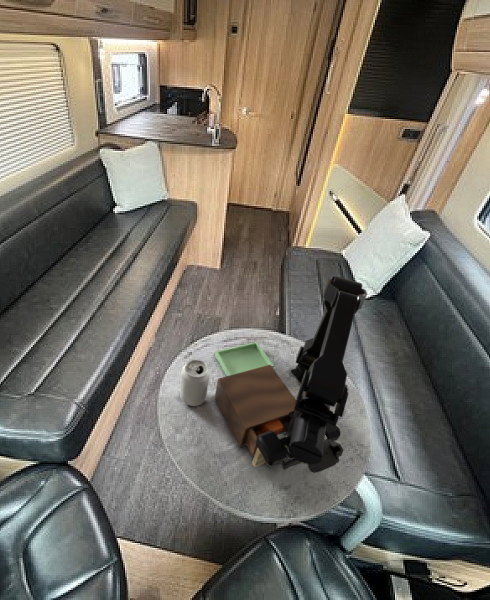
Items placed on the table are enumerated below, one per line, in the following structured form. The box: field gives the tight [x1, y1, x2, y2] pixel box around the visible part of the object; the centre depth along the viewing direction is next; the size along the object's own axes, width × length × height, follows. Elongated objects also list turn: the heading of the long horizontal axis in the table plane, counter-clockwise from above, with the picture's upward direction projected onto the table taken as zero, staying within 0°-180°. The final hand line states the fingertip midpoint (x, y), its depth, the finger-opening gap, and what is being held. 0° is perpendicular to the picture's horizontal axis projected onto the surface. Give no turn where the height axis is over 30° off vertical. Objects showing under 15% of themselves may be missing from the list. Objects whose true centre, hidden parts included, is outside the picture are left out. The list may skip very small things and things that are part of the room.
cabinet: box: [214, 365, 297, 448], centre depth 86 cm, size 16×17×8 cm
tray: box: [214, 341, 275, 376], centre depth 102 cm, size 15×11×2 cm
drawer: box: [244, 415, 303, 470], centre depth 80 cm, size 19×15×6 cm
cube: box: [259, 419, 284, 435], centre depth 81 cm, size 4×4×4 cm
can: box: [179, 358, 211, 407], centre depth 87 cm, size 8×8×12 cm
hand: (289, 456), depth 75 cm, fingers closed
